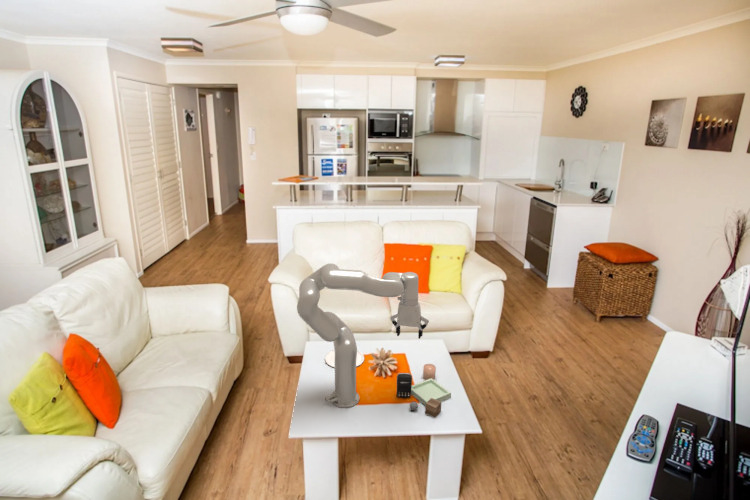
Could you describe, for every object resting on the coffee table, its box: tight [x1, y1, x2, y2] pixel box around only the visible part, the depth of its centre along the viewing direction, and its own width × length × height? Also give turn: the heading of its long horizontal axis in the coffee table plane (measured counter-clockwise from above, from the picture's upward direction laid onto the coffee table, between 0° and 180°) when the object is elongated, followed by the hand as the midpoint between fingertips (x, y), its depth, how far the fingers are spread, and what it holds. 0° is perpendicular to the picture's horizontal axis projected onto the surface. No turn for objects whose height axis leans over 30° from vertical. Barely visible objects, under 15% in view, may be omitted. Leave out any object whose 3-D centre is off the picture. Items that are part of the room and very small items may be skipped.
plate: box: [324, 349, 365, 369], centre depth 235 cm, size 21×21×1 cm
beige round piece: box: [422, 363, 437, 381], centre depth 218 cm, size 6×6×6 cm
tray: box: [411, 378, 452, 407], centre depth 205 cm, size 14×14×2 cm
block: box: [424, 398, 443, 418], centre depth 192 cm, size 5×5×5 cm
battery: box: [396, 372, 413, 399], centre depth 202 cm, size 7×4×11 cm, turn 87°
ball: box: [409, 401, 419, 411], centre depth 194 cm, size 4×4×4 cm
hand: (409, 336), depth 197 cm, fingers open, 9 cm apart
